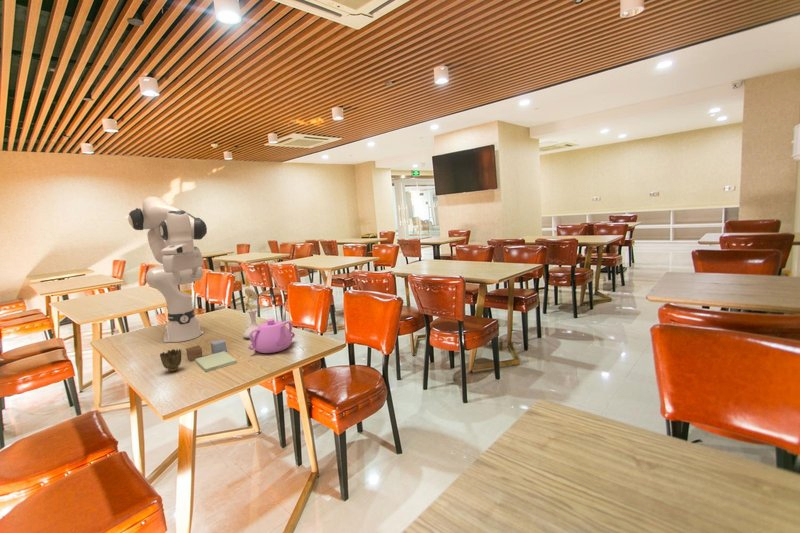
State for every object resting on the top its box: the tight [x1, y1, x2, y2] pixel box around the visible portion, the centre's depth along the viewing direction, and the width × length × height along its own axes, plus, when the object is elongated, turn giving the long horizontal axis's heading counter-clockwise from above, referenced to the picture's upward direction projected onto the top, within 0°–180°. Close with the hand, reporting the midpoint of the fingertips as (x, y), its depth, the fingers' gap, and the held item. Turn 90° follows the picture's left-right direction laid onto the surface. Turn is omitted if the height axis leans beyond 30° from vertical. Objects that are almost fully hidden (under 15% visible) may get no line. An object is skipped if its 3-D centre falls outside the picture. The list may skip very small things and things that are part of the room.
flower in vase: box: [242, 287, 260, 339], centre depth 188 cm, size 13×11×25 cm
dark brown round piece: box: [159, 348, 182, 373], centre depth 150 cm, size 8×7×8 cm
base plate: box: [194, 351, 238, 373], centre depth 157 cm, size 16×12×1 cm
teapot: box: [248, 318, 296, 354], centre depth 168 cm, size 22×22×14 cm
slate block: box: [210, 339, 228, 354], centre depth 169 cm, size 5×5×5 cm
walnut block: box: [185, 344, 204, 363], centre depth 163 cm, size 5×5×5 cm
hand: (186, 279), depth 162 cm, fingers open, 8 cm apart
